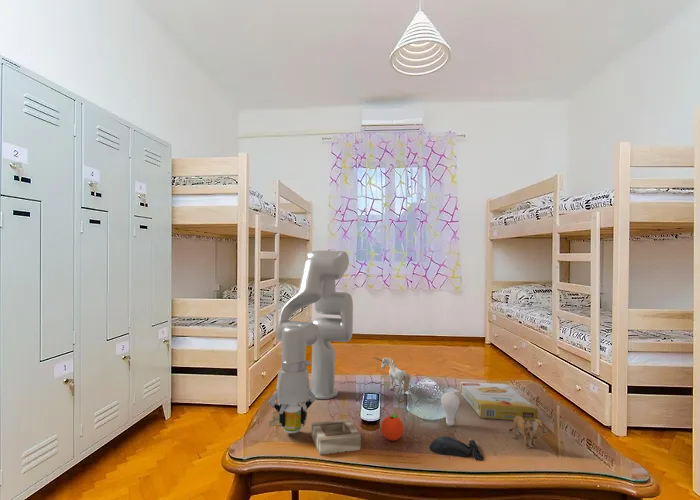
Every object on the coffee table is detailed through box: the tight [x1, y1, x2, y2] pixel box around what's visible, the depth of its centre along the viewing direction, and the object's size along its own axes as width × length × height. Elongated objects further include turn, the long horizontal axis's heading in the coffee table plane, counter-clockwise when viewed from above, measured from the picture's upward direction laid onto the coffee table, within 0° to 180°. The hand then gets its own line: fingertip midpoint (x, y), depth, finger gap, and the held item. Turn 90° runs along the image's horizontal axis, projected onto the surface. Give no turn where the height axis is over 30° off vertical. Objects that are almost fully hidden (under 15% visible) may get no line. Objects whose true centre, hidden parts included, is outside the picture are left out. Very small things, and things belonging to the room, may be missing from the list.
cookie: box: [268, 410, 308, 427], centre depth 127 cm, size 12×12×1 cm
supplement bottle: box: [283, 403, 302, 434], centre depth 115 cm, size 5×5×10 cm
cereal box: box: [459, 381, 538, 421], centre depth 144 cm, size 20×6×28 cm
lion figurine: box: [508, 416, 548, 450], centre depth 114 cm, size 15×5×9 cm, turn 15°
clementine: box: [380, 414, 404, 441], centre depth 114 cm, size 8×7×7 cm
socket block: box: [310, 418, 362, 456], centre depth 110 cm, size 12×12×4 cm
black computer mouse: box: [428, 435, 484, 462], centre depth 108 cm, size 10×15×4 cm
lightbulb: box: [440, 391, 461, 427], centre depth 125 cm, size 6×6×11 cm
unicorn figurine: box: [373, 356, 411, 394], centre depth 159 cm, size 7×20×13 cm, turn 45°
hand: (292, 423), depth 115 cm, fingers closed on supplement bottle, 5 cm apart
